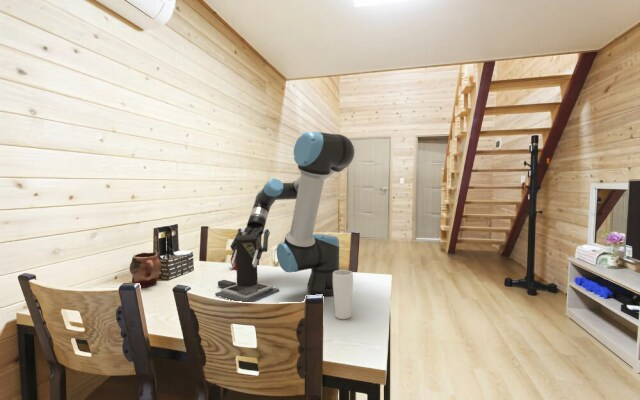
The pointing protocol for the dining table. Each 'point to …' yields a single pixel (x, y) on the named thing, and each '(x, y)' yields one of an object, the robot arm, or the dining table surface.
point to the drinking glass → (342, 293)
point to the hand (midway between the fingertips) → (243, 265)
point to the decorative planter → (145, 269)
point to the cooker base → (245, 291)
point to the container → (246, 260)
